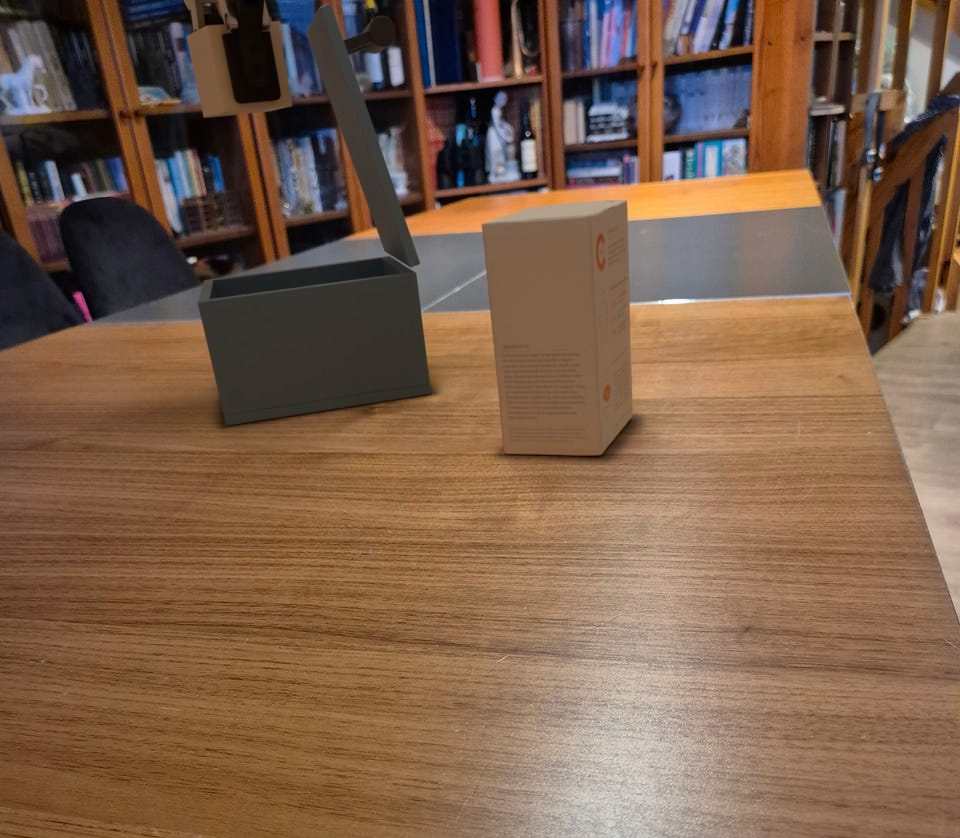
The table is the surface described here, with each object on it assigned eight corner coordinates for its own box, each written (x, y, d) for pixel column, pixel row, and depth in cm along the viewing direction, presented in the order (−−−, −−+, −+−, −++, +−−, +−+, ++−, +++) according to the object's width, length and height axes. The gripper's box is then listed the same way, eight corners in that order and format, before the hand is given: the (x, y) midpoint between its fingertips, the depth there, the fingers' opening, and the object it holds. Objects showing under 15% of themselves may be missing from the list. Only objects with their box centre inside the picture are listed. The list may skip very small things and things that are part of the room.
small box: (542, 417, 63) (527, 205, 56) (634, 417, 60) (630, 197, 54) (500, 455, 56) (478, 221, 50) (602, 457, 54) (592, 212, 48)
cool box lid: (318, 7, 59) (391, -22, 59) (305, 32, 70) (366, 8, 71) (410, 268, 67) (474, 242, 67) (384, 251, 79) (439, 230, 79)
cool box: (226, 426, 69) (197, 302, 65) (227, 387, 81) (203, 280, 76) (431, 394, 71) (416, 272, 67) (403, 361, 83) (389, 255, 79)
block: (224, 112, 63) (206, 25, 61) (203, 117, 67) (185, 36, 65) (292, 106, 65) (278, 21, 63) (268, 111, 69) (254, 32, 67)
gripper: (91, -191, 62) (163, 118, 71) (152, -297, 49) (231, 99, 58) (200, -186, 65) (256, 110, 74) (285, -285, 52) (341, 89, 61)
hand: (244, 102), depth 66 cm, fingers closed on block, 5 cm apart
